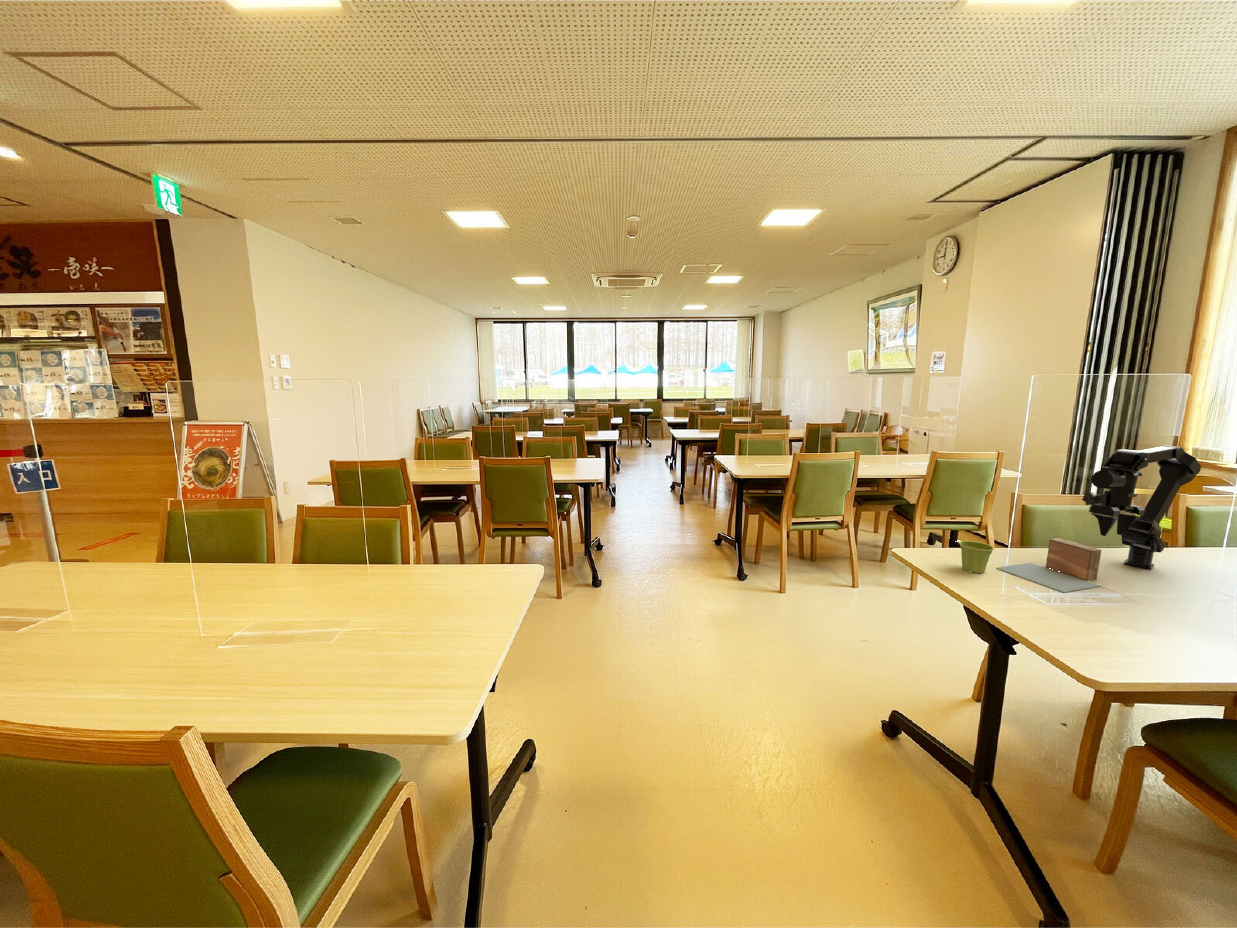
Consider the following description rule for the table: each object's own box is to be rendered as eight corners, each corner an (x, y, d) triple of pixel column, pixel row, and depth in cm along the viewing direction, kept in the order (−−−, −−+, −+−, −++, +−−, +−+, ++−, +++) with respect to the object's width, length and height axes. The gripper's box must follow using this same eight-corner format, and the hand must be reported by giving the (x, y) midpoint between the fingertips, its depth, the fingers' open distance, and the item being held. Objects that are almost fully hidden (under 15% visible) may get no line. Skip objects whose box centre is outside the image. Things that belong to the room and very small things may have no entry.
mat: (1030, 563, 169) (1030, 562, 169) (1100, 586, 151) (1100, 585, 150) (996, 568, 165) (996, 567, 165) (1063, 592, 146) (1063, 592, 146)
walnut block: (1054, 566, 167) (1058, 538, 165) (1096, 579, 156) (1101, 549, 154) (1044, 567, 166) (1049, 539, 164) (1086, 581, 154) (1092, 551, 153)
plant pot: (967, 563, 170) (970, 539, 168) (997, 573, 161) (1000, 547, 160) (949, 567, 166) (952, 542, 165) (979, 577, 158) (982, 551, 156)
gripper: (1107, 483, 170) (1097, 527, 172) (1074, 483, 163) (1064, 529, 166) (1150, 490, 160) (1139, 536, 162) (1117, 491, 153) (1106, 539, 155)
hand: (1111, 535), depth 162 cm, fingers open, 9 cm apart
